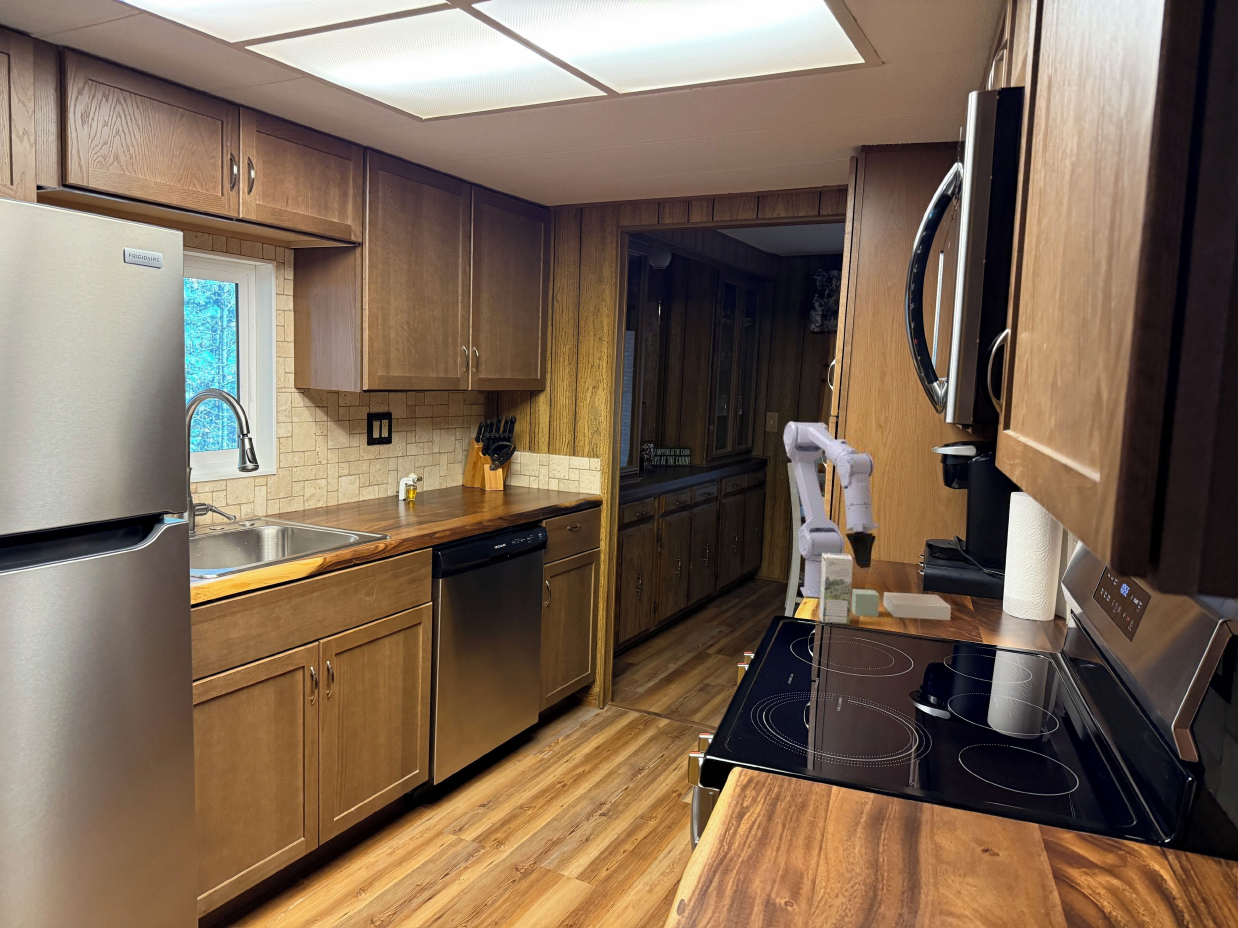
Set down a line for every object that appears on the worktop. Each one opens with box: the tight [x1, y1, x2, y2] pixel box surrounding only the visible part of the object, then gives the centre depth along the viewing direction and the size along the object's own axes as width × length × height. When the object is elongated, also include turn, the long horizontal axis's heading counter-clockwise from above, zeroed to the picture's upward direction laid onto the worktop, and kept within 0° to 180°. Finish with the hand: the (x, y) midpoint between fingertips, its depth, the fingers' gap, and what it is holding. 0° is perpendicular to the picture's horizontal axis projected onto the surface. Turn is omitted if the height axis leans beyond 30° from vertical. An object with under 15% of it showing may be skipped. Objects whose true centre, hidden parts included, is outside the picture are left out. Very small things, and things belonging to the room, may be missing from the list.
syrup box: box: [818, 553, 854, 625], centre depth 182 cm, size 6×6×14 cm
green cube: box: [850, 588, 880, 618], centre depth 191 cm, size 5×5×5 cm
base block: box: [882, 591, 952, 621], centre depth 193 cm, size 12×12×3 cm
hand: (863, 566), depth 189 cm, fingers open, 7 cm apart
